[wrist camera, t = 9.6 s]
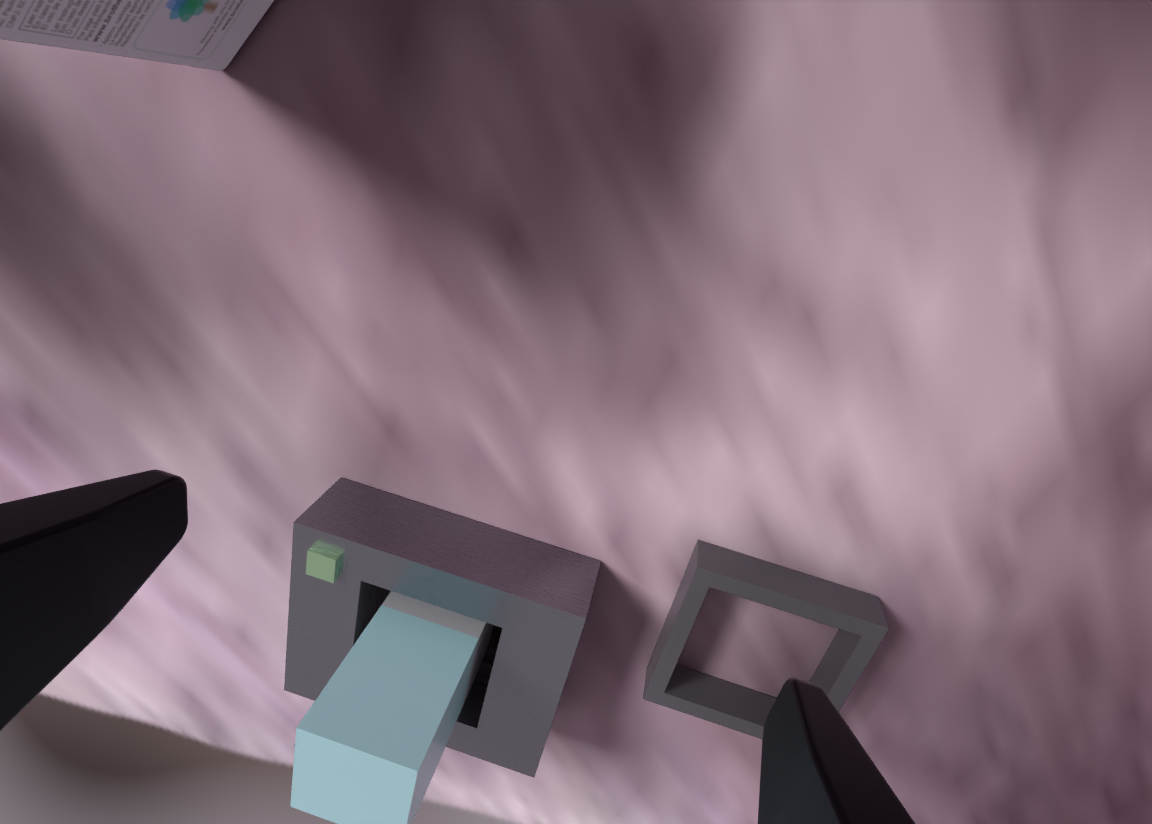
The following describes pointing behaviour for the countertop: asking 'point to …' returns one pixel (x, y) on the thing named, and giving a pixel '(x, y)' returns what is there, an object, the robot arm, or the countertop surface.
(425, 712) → the plug
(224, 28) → the ink cartridge box
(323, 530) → the socket
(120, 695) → the countertop surface
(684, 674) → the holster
